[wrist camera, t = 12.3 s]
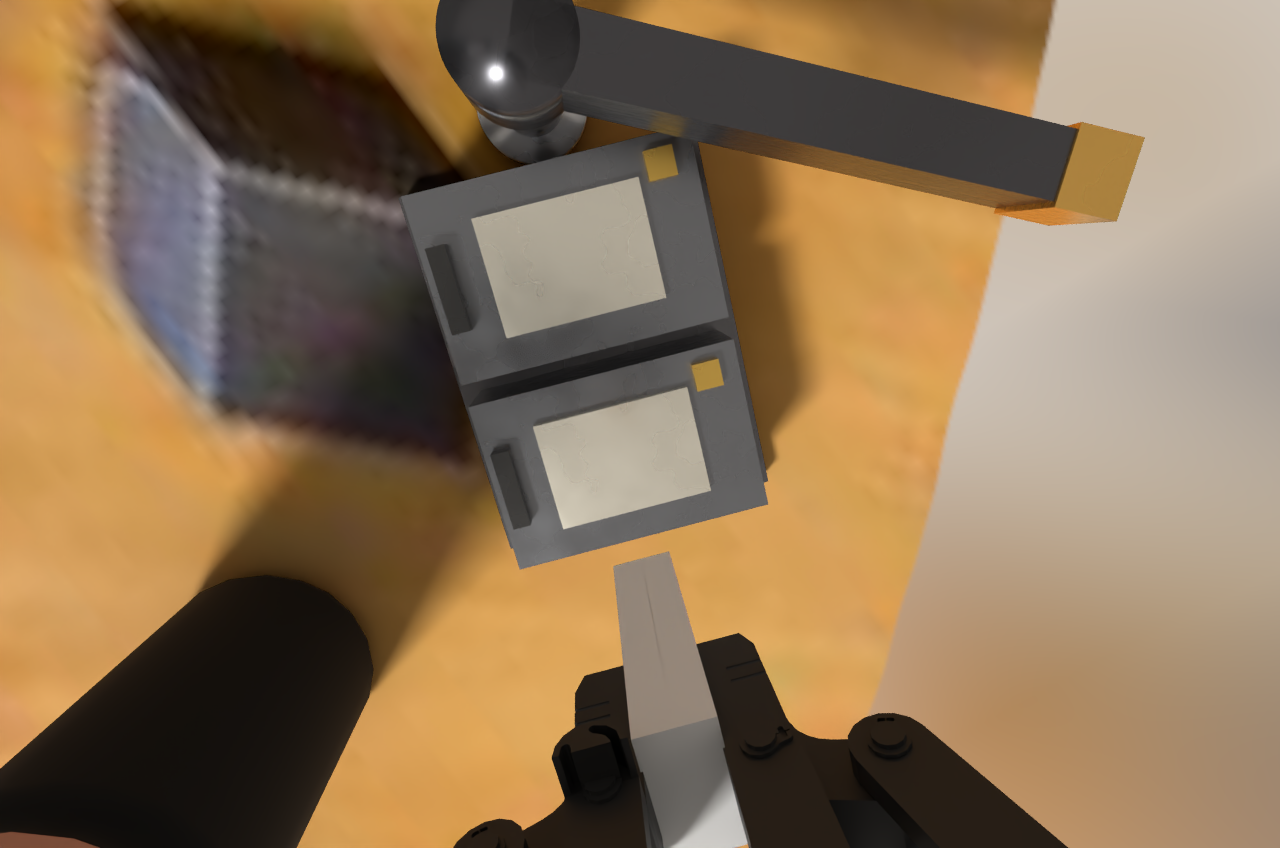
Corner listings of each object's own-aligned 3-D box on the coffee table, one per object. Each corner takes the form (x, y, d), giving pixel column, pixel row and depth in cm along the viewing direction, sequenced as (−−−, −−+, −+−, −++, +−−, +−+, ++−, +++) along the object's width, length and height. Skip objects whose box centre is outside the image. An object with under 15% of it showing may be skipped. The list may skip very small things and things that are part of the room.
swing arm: (448, 115, 25) (426, 92, 21) (464, -19, 24) (444, -66, 20) (1042, 245, 28) (1108, 244, 24) (1078, 131, 27) (1152, 113, 23)
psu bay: (512, 540, 37) (500, 590, 31) (403, 199, 32) (367, 188, 27) (763, 475, 37) (794, 513, 32) (690, 127, 32) (712, 102, 27)
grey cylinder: (496, 176, 32) (473, 155, 25) (464, 63, 31) (430, 8, 24) (599, 150, 32) (603, 122, 25) (571, 37, 31) (568, -26, 24)
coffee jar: (141, 595, 36) (-276, 917, 18) (339, 542, 36) (112, 812, 19) (223, 760, 38) (-75, 1178, 21) (406, 710, 39) (263, 1082, 21)
